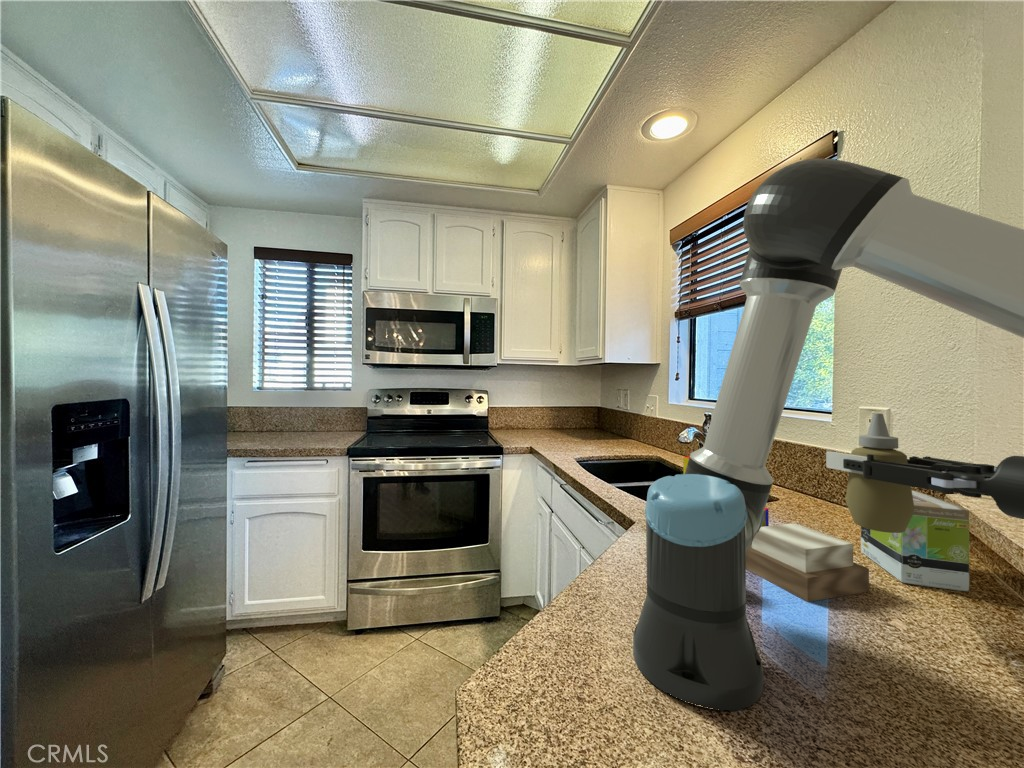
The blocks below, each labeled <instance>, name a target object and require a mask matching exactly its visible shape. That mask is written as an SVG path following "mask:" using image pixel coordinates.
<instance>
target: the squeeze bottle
mask: <svg viewBox="0 0 1024 768" xmlns="http://www.w3.org/2000/svg"><path fill="white" fill-rule="evenodd" d="M858 445H859V446H860V447H856V448H854V449H852V450H851V452H850V454H851V455H858V456H864V457H867V454H871V455H874V459H875V460H881V461H890V462H898V463H907V464H908V461H907V459H908V455H907V454H905V453H904V452H903V451H900V450H898V449H899V438H898V437H895V436H890V434H889V429H888V427H887V423H886V420H885V417H884V414H883V413H878V412H877V413H876V412H875V413H873V412H872V416H871V420H870V423H869V426H868V430H867V434H859V436H858ZM847 476H848V478H847V483H846V484H847V485H846V491H845V492H846V494H845V503H846V506H847V507H848V510H849V513H850V515H851V518H852V521H853V522H854V524H855V525H857V526H859V527H861V526H862V527H864V528H867V529H871V530H875V531H880V532H888V533H902V532H905V530H906V528H907V526H908V524H909V522H910V520H911V518H912V516H913V514H914V511H915V509H914V502H913V495H912V486H907V485H901V484H896V483H890V482H885V481H879V480H874V479H866V478H864V477H863V474H858V473H852V472H848V475H847Z"/></svg>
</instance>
